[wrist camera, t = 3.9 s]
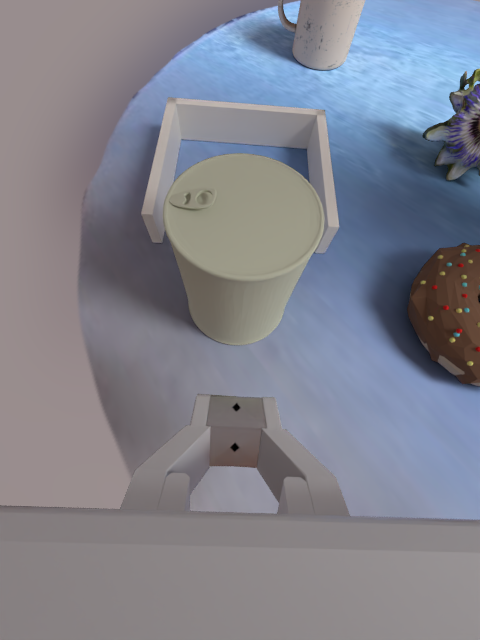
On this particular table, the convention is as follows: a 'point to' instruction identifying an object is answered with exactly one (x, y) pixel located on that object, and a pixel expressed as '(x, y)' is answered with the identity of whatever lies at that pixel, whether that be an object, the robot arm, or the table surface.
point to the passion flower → (460, 130)
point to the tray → (240, 128)
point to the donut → (450, 310)
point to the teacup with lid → (323, 31)
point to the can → (241, 241)
